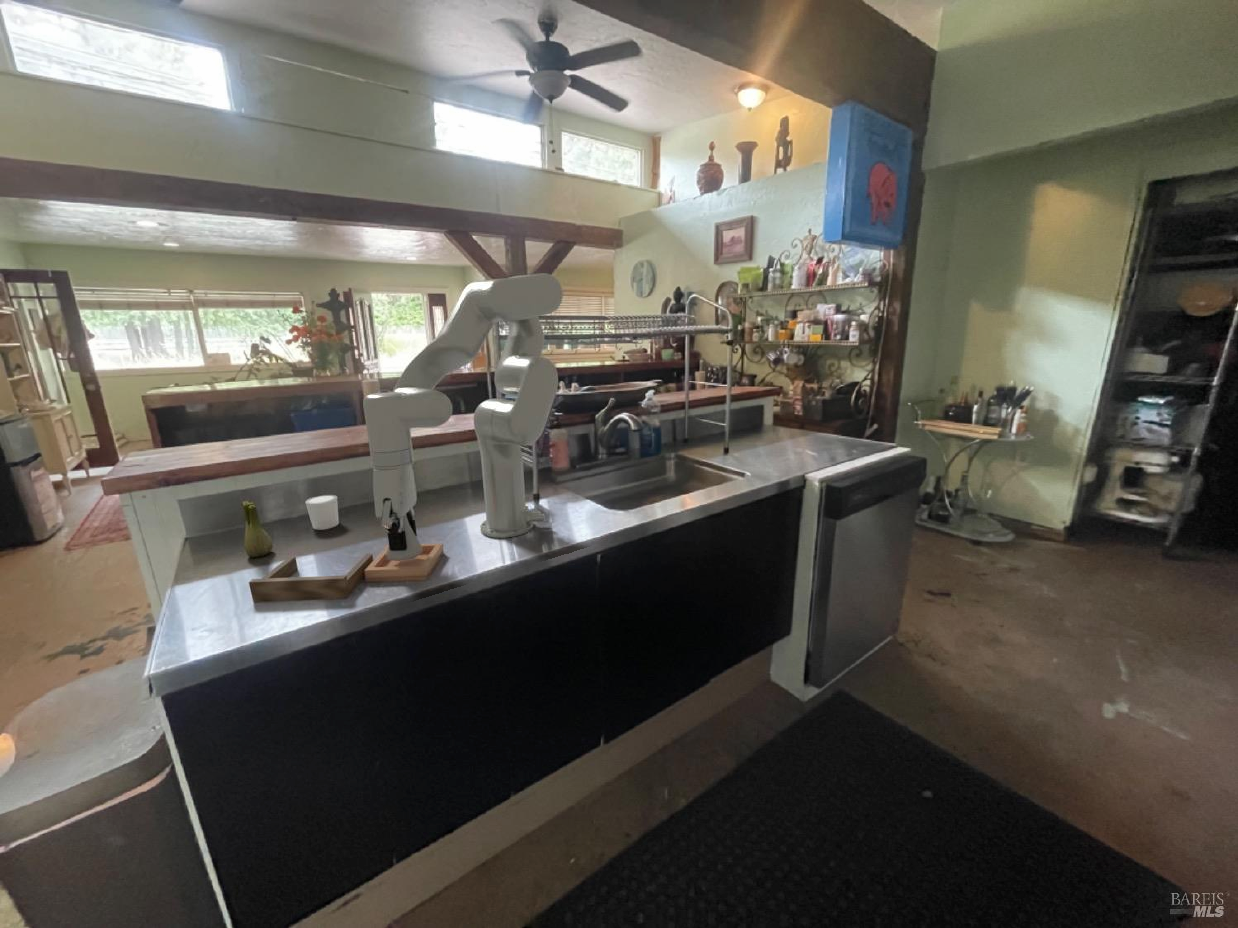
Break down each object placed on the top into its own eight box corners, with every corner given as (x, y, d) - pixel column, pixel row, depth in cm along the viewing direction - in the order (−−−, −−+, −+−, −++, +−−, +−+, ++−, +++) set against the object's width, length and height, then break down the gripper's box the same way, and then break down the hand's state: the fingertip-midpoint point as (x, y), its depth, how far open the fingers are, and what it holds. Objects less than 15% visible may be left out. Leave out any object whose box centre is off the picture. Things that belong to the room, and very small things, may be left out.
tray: (443, 553, 108) (442, 543, 107) (427, 579, 97) (425, 568, 96) (389, 555, 107) (387, 544, 107) (366, 582, 96) (364, 570, 95)
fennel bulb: (250, 551, 110) (239, 500, 107) (276, 547, 112) (266, 496, 109) (244, 561, 105) (231, 508, 102) (271, 557, 107) (260, 505, 104)
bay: (374, 567, 102) (371, 549, 101) (346, 598, 90) (343, 578, 89) (292, 570, 101) (288, 552, 100) (253, 602, 89) (248, 582, 88)
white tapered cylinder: (327, 531, 120) (322, 504, 119) (303, 529, 122) (298, 502, 120) (347, 521, 127) (343, 495, 125) (324, 519, 128) (320, 493, 126)
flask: (392, 547, 104) (386, 502, 102) (428, 546, 105) (422, 501, 102) (379, 563, 97) (372, 515, 95) (417, 561, 98) (411, 514, 95)
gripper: (389, 447, 104) (400, 528, 109) (352, 469, 87) (367, 563, 92) (426, 446, 104) (435, 527, 109) (396, 468, 88) (408, 562, 93)
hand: (403, 543), depth 100 cm, fingers closed on flask, 5 cm apart
